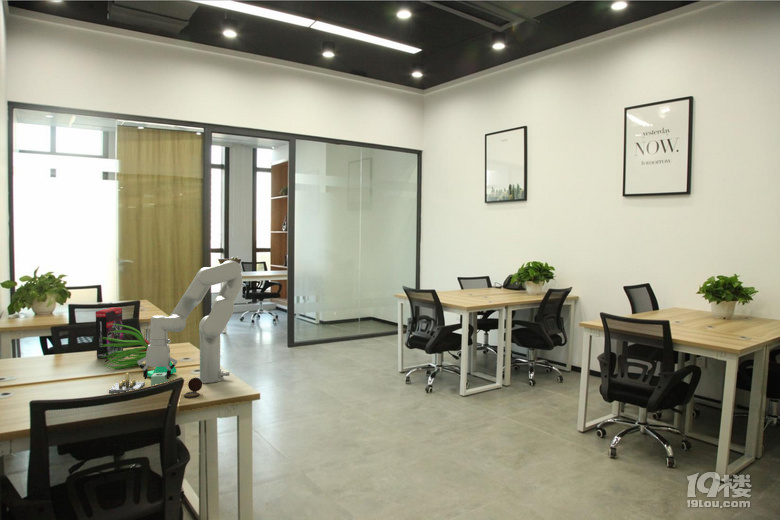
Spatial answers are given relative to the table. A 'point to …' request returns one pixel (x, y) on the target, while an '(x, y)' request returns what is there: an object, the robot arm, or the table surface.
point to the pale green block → (158, 378)
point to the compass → (194, 388)
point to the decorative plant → (137, 352)
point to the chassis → (126, 385)
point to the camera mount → (161, 370)
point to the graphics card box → (108, 331)
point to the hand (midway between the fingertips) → (157, 378)
